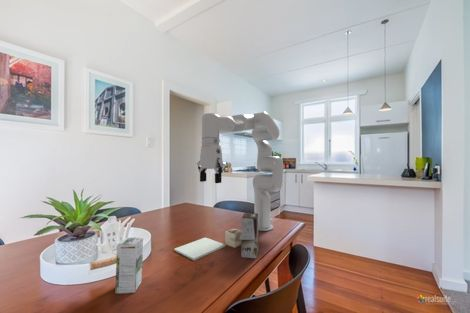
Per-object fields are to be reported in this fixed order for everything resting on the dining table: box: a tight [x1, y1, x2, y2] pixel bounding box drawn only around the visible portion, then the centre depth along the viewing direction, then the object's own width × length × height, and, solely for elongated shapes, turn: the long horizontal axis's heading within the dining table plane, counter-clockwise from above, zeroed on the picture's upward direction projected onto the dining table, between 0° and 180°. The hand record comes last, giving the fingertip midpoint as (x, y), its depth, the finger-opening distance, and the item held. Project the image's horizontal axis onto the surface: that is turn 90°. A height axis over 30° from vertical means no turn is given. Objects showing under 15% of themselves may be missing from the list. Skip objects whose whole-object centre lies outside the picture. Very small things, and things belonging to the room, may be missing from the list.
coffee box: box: [240, 212, 259, 259], centre depth 88 cm, size 9×6×16 cm
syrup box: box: [114, 237, 144, 295], centre depth 64 cm, size 6×6×14 cm
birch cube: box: [224, 228, 242, 249], centre depth 98 cm, size 6×6×6 cm
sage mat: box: [173, 237, 226, 261], centre depth 92 cm, size 18×14×1 cm
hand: (210, 182), depth 88 cm, fingers open, 9 cm apart
